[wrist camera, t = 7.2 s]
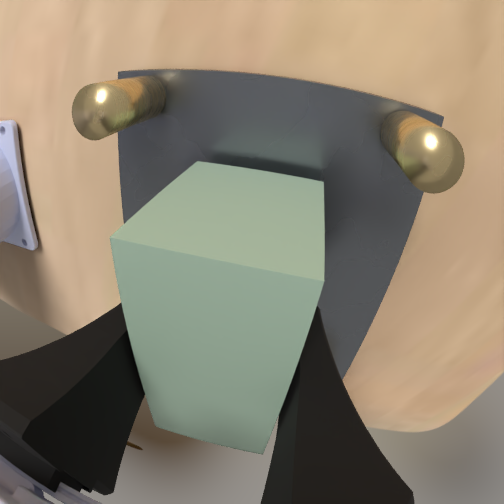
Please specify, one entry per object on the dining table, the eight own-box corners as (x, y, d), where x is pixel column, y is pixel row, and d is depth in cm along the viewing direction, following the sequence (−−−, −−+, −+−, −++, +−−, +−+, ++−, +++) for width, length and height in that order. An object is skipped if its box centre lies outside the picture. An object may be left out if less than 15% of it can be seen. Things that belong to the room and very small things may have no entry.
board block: (195, 334, 14) (155, 426, 10) (197, 161, 10) (109, 237, 6) (282, 353, 14) (262, 454, 10) (323, 181, 9) (324, 280, 5)
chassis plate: (151, 339, 18) (123, 390, 15) (132, 70, 10) (61, 80, 7) (334, 379, 17) (331, 440, 14) (433, 112, 9) (486, 137, 6)
